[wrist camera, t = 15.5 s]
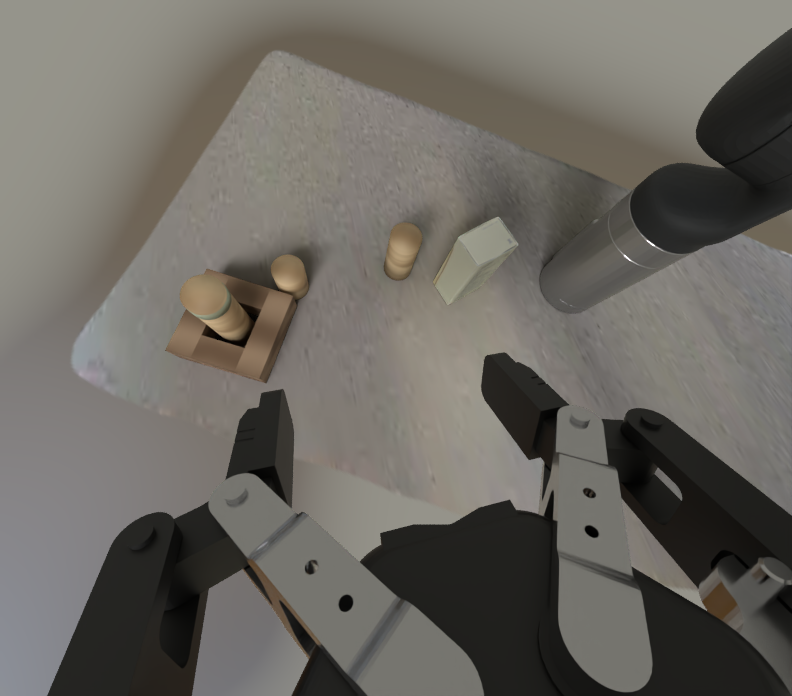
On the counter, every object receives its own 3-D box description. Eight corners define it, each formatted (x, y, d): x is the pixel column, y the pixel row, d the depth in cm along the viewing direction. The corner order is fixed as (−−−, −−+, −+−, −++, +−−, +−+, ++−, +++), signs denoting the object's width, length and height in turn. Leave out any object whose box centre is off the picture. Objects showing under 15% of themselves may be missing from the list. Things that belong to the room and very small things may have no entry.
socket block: (217, 281, 45) (206, 268, 41) (297, 306, 45) (292, 295, 42) (179, 357, 41) (165, 350, 38) (266, 383, 42) (259, 378, 39)
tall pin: (232, 312, 44) (190, 268, 32) (262, 322, 44) (232, 281, 33) (219, 341, 43) (171, 305, 31) (250, 350, 43) (214, 319, 31)
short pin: (285, 269, 46) (277, 250, 42) (312, 278, 47) (308, 260, 42) (274, 294, 45) (265, 278, 40) (302, 303, 46) (297, 288, 41)
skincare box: (464, 265, 51) (499, 213, 39) (480, 288, 50) (521, 243, 38) (430, 283, 49) (456, 235, 37) (447, 307, 48) (478, 266, 37)
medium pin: (388, 252, 49) (395, 218, 42) (413, 260, 50) (425, 228, 42) (380, 275, 48) (386, 244, 41) (406, 284, 48) (417, 255, 41)
